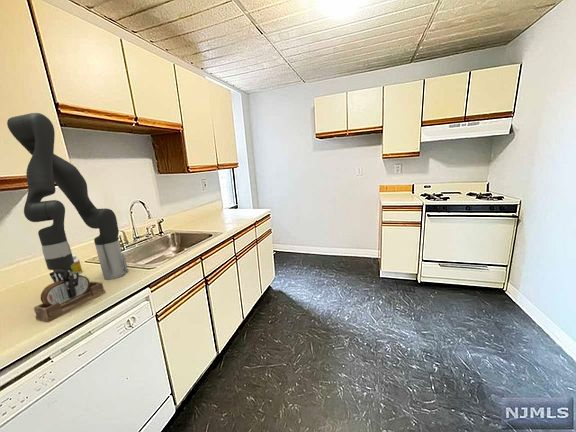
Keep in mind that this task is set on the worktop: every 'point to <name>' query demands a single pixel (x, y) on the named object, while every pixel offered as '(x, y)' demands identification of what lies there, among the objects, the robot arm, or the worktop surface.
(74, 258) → the supplement bottle
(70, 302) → the rack
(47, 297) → the tin
